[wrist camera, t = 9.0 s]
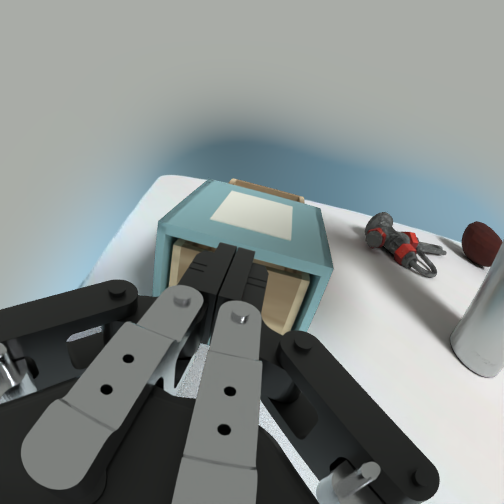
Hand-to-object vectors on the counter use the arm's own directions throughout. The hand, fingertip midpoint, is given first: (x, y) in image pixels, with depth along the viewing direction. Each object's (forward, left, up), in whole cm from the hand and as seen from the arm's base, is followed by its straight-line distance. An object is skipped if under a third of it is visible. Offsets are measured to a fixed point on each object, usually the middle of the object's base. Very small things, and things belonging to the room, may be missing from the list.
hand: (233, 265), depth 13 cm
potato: (-73, +22, -12) cm, 78 cm away
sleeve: (-11, -7, -12) cm, 18 cm away
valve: (-51, +6, -12) cm, 53 cm away
